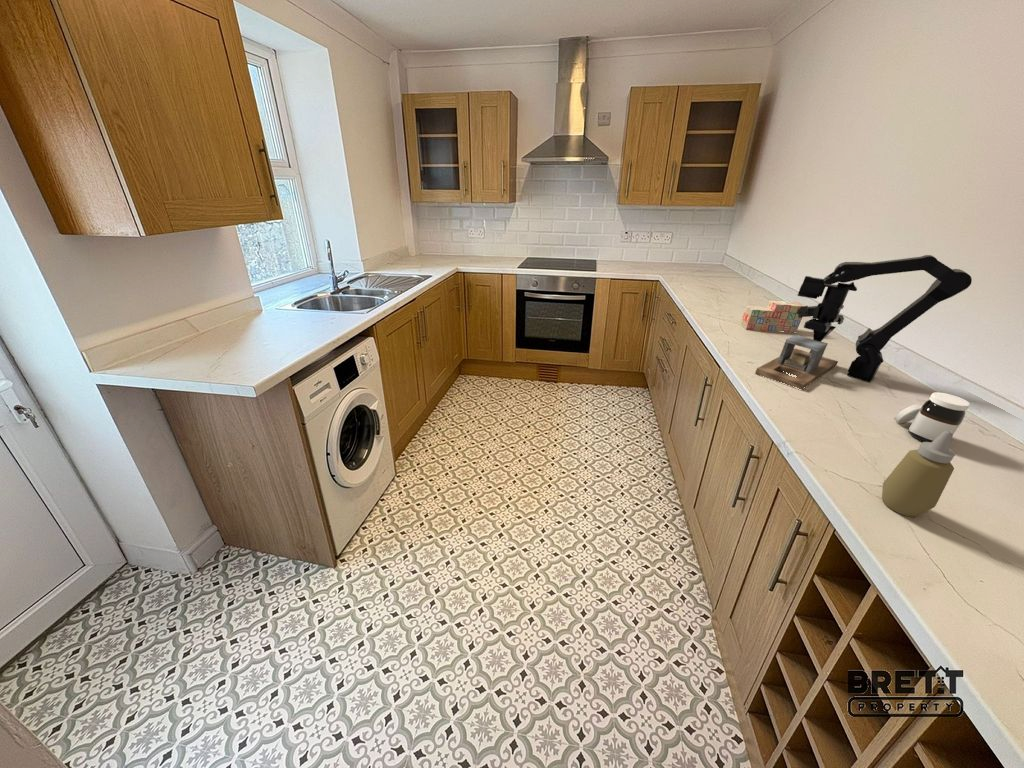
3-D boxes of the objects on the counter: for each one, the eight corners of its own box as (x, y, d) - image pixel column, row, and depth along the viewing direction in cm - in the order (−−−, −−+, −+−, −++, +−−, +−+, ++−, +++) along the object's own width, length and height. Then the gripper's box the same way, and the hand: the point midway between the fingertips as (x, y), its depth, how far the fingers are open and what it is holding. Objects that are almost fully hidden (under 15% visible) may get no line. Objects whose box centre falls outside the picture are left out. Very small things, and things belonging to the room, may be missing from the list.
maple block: (805, 366, 137) (810, 355, 136) (801, 369, 135) (805, 358, 133) (792, 362, 140) (797, 351, 138) (788, 365, 138) (792, 354, 136)
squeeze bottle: (901, 492, 85) (947, 420, 76) (938, 522, 78) (994, 446, 69) (864, 492, 84) (907, 420, 76) (898, 522, 77) (949, 445, 69)
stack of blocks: (745, 330, 176) (754, 302, 170) (739, 325, 182) (748, 298, 176) (796, 333, 175) (807, 306, 169) (788, 328, 180) (799, 302, 175)
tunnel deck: (835, 366, 144) (849, 337, 139) (801, 390, 126) (814, 358, 121) (793, 353, 154) (804, 325, 148) (754, 373, 135) (765, 343, 130)
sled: (823, 358, 144) (829, 343, 141) (803, 370, 134) (810, 354, 131) (803, 352, 148) (809, 338, 146) (783, 364, 138) (789, 348, 135)
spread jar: (943, 452, 99) (970, 411, 94) (885, 431, 107) (907, 392, 101) (950, 435, 106) (975, 397, 100) (895, 416, 113) (916, 380, 108)
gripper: (815, 292, 145) (799, 333, 152) (795, 299, 134) (779, 343, 142) (852, 299, 137) (834, 342, 144) (834, 308, 127) (815, 353, 134)
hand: (814, 345), depth 141 cm, fingers closed
